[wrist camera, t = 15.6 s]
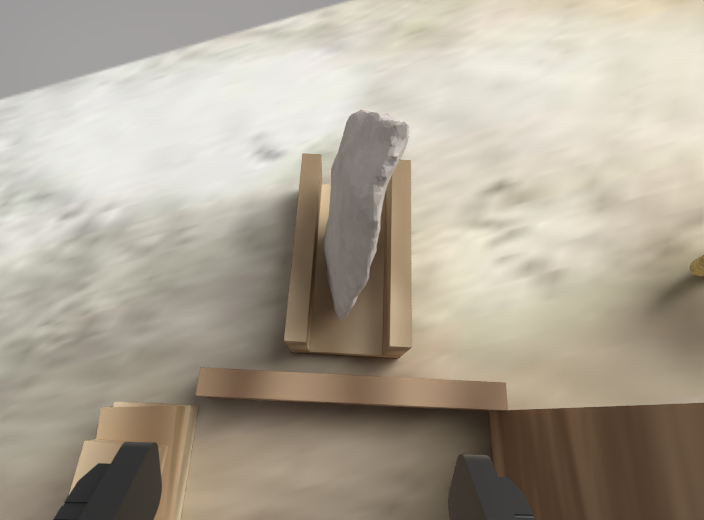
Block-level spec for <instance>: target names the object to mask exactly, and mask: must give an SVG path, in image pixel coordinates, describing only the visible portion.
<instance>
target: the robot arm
mask: <svg viewBox="0 0 704 520" xmlns="http://www.w3.org/2000/svg"><path fill="white" fill-rule="evenodd" d="M161 493H162V478H161V469H160V459H159V450H158V445H157V443H156V442H128V441H126V442H124V443H123V444H122V445H121V447H120V449H119V450H118V452H117V454H116V455H115V457H114V459H113V460H112V462H111V464H107V463H98V464H97V465H96V466H95V467H93V468H92V469H91V470H90V471H89V472H88V473H87V474H85V475H84V476H83V477H82V478H81V479H80V480H78V482H77V483H76V485H75V487H74V488H73V490H72V491H71V493H70V494H69V496H68V497H67V499H66V501H65V504H64V506H62V507H61V508H60V510H59V511H58V513H57V515H56V516H55V518H54V520H154V517H155V515H156V512H157V510H158V507H159V503H160V499H161ZM448 506H449V515H450V520H536V519H534V514H533V512H532V510H531V508H530V505H529V503H528V501H527V499H526V497H525V495H524V494H523V492H522V491H521V490H520V489H519V488H518V487H517V486H516V485H515V483H514V482H513V481H512V480H511V479H510V478H509V477H498V475H497V472H496V470H495V468H494V465H493V463H492V461H491V459H490V457H489V456H487V455H470V454H460V455H459V456H458V458H457V462H456V466H455V471H454V475H453V479H452V483H451V487H450V491H449V498H448Z"/></svg>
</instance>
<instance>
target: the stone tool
mask: <svg viewBox="0 0 704 520" xmlns="http://www.w3.org/2000/svg"><path fill="white" fill-rule="evenodd" d="M408 137H409V126H408V125H407V124H406V123H405V122H400V121H395V120H393V119H392V118H391V116H390V115H389V114H379V113H375V112H369V111H364V110H360V111H358V112H356V113H353V114H352V115H351V116H350V117H349V119H348V120H347V122H346V126H345V130H344V134H343V137H342V141H341V144H340V147H339V151H338V154H337V156H336V158H335V160H334V163H333V165H332V169H331V191H330V206H329V217H328V220H327V224H326V230H325V235H324V240H323V251H324V255H325V259H326V265H327V269H326V273H327V279H328V283H329V287H330V290H331V293H332V298H333V302H334V309H335V312H336V314H337V316H338V318H339V320H342V319H343V318H345V317H346V316H347V315H348V314H349V311H350V310H351V309H352V307H353V306H354V305H355V303H356V300H357V296H358V294H359V293H360V292H361V291H362V289H363V288H364V287H365V286H366V283H367V281H368V279H369V271H370V265H371V263H372V261H373V258H374V256H375V253H376V251H377V242H378V237H379V232H380V218H381V212H382V205H383V200H384V196H385V192H386V188H387V185H388V182H389V180H390V178H391V176H392V174H393V172H394V170H395V168H396V166H397V164H398V162H399V160H400V158H401V157H402V155H403V153H404V151H405V148H406V145H407V141H408Z"/></svg>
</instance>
